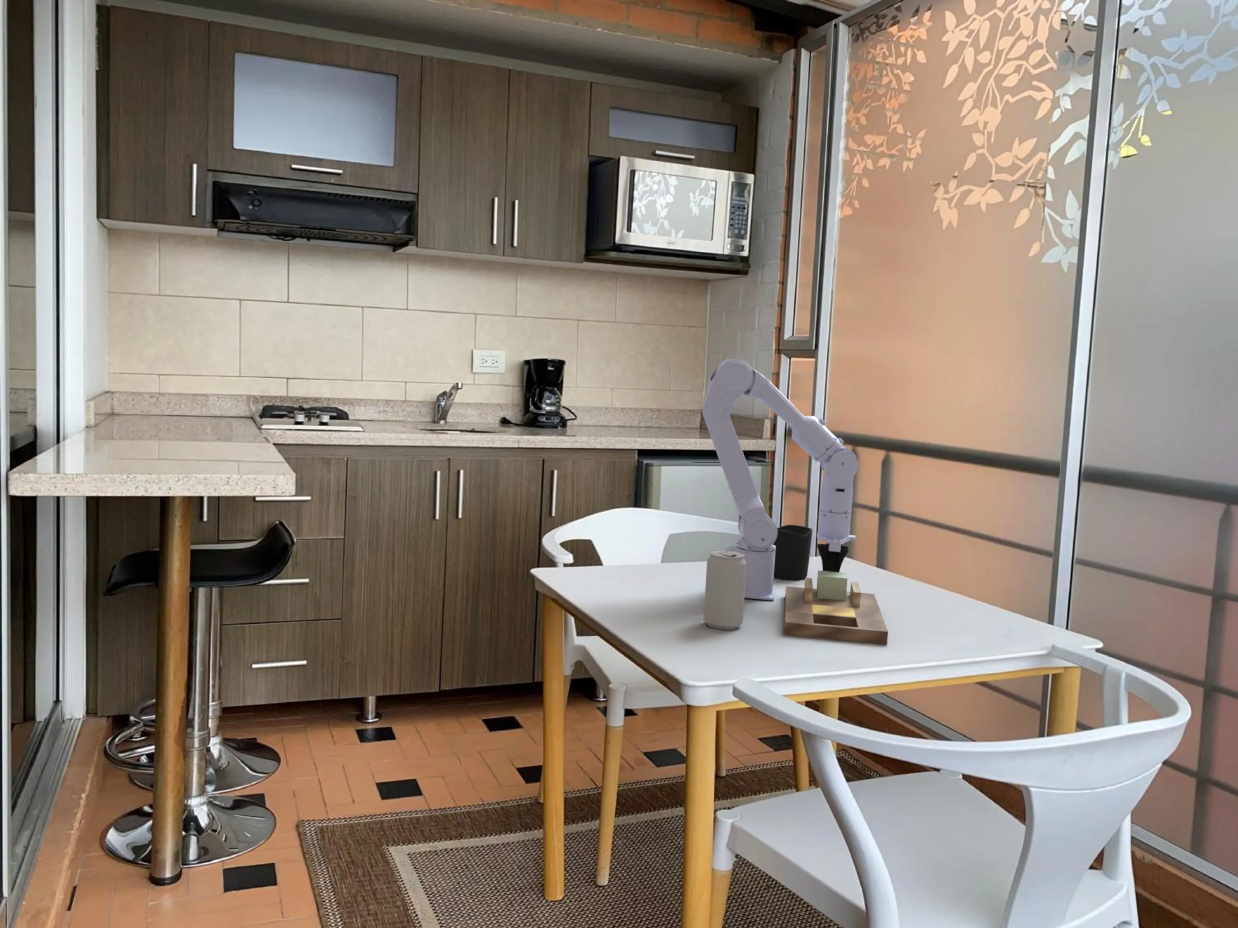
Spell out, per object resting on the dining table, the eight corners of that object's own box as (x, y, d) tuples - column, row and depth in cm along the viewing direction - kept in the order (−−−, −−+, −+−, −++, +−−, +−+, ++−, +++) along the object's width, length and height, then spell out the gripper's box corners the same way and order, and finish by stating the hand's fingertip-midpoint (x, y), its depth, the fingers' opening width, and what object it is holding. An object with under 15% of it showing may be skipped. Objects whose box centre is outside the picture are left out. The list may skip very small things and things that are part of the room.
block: (817, 597, 184) (818, 575, 184) (816, 592, 189) (818, 570, 189) (845, 600, 183) (847, 578, 183) (844, 594, 188) (846, 572, 188)
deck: (784, 634, 166) (786, 606, 165) (785, 596, 193) (787, 572, 193) (887, 644, 163) (889, 616, 163) (873, 604, 191) (875, 580, 190)
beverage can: (716, 631, 165) (721, 557, 164) (695, 621, 171) (700, 550, 169) (749, 629, 168) (755, 556, 167) (728, 619, 174) (732, 548, 172)
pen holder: (808, 582, 207) (812, 533, 206) (761, 578, 209) (764, 529, 208) (809, 573, 216) (812, 526, 215) (764, 569, 218) (767, 522, 217)
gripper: (860, 518, 184) (854, 593, 185) (855, 507, 198) (849, 577, 199) (819, 515, 185) (814, 590, 186) (817, 504, 199) (812, 574, 200)
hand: (829, 583), depth 193 cm, fingers closed
